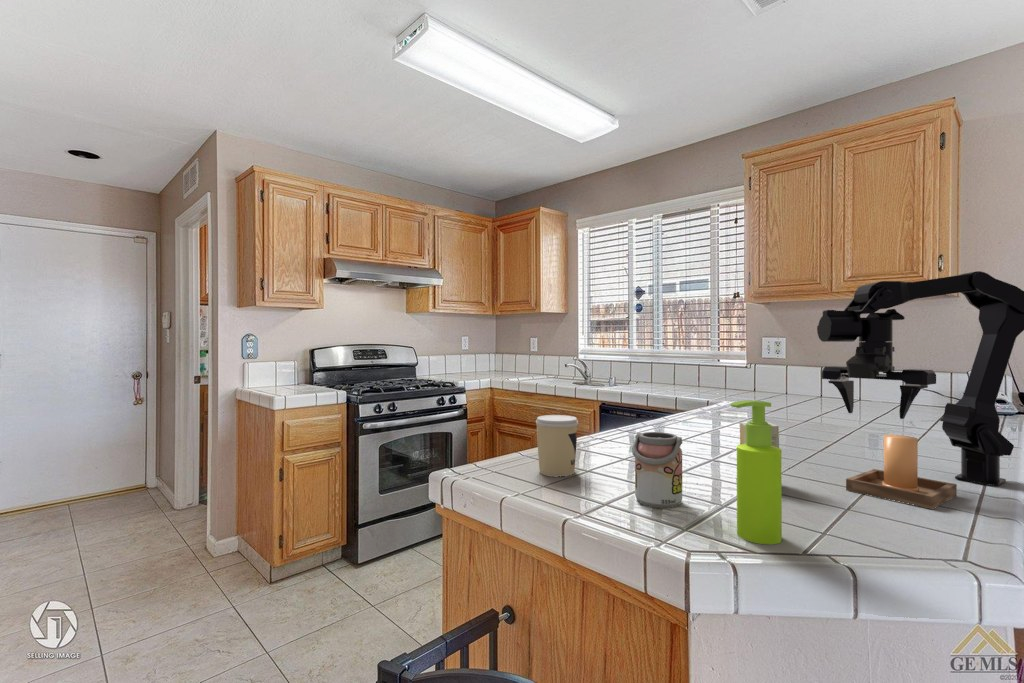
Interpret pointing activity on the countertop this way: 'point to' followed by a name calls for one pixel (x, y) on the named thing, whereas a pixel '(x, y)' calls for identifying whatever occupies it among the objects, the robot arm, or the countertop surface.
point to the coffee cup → (557, 444)
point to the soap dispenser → (758, 480)
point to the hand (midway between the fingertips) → (875, 415)
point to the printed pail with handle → (658, 469)
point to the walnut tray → (927, 497)
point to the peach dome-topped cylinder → (901, 462)
